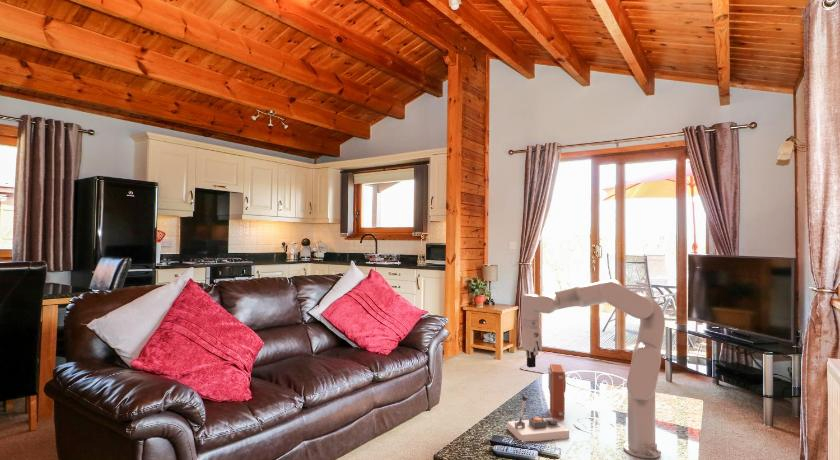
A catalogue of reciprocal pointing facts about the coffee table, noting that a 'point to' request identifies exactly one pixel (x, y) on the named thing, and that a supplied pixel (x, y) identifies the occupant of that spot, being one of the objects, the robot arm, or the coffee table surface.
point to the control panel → (557, 391)
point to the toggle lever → (522, 411)
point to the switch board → (537, 430)
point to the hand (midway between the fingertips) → (531, 366)
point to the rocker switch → (552, 421)
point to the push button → (537, 419)
